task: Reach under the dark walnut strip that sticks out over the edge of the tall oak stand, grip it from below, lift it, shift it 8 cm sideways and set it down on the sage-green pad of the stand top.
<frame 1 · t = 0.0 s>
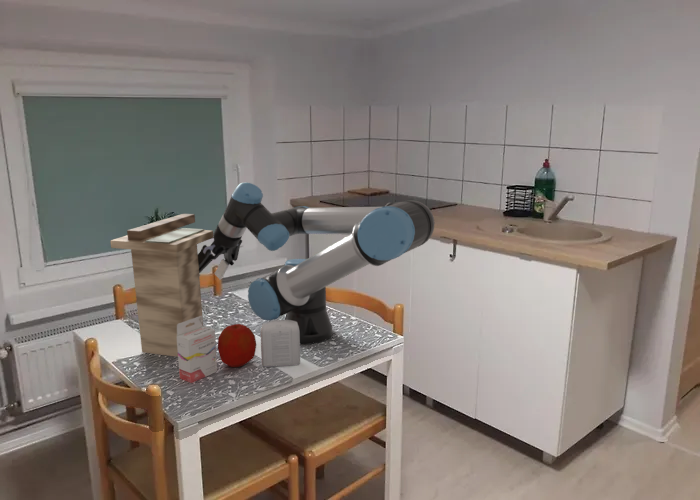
hand: (203, 281, 171), 15 cm above the table, tool tilted 35°, fingers open, 11 cm apart
ink cartridge box: (199, 375, 144), on the table
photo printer: (281, 364, 150), on the table
oak stand: (173, 347, 161), on the table
walnut strip: (164, 230, 160), point 33 cm above the table, touching oak stand
apple: (237, 364, 150), on the table
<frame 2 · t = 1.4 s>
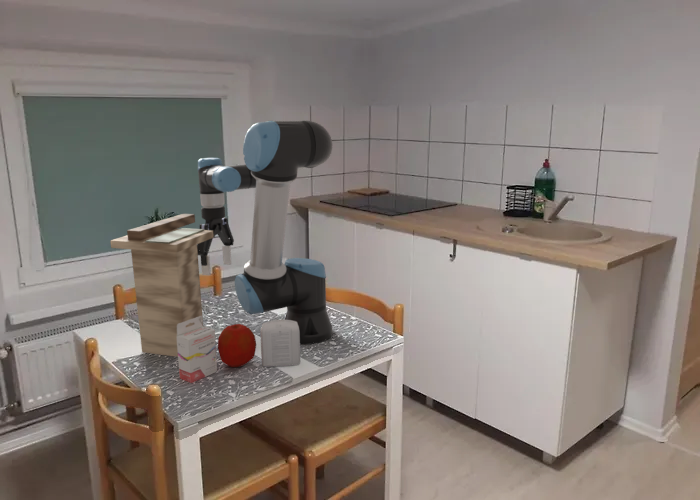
hand: (217, 269, 187), 15 cm above the table, tool pointing down, fingers open, 13 cm apart
nothing on the table moved.
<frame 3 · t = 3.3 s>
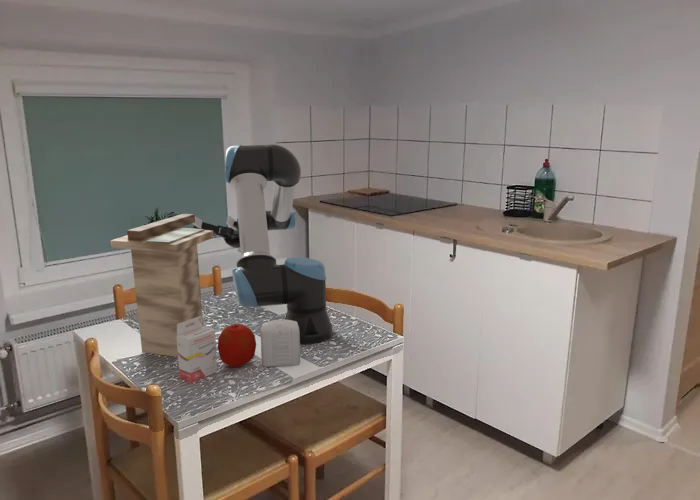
hand: (209, 218, 183), 32 cm above the table, tool pointing upward, fingers open, 13 cm apart
nothing on the table moved.
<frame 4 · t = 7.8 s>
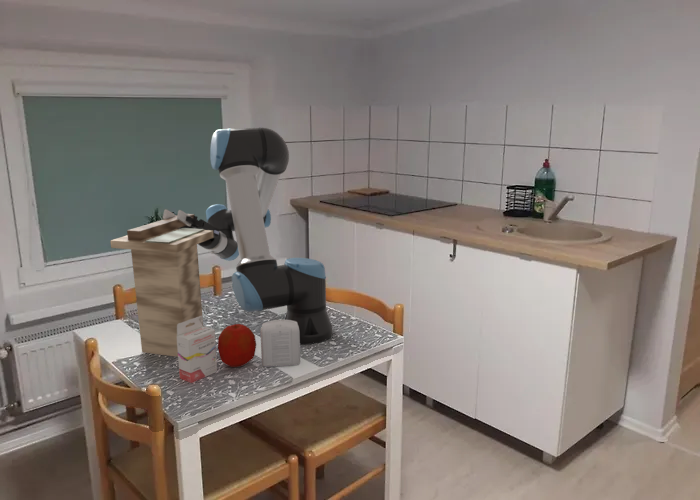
hand: (171, 214, 163), 37 cm above the table, tool pointing upward, fingers closed on walnut strip, 4 cm apart
walnut strip: (164, 230, 160), point 33 cm above the table, touching gripper, oak stand
everything else where it was.
when the fingers open (39 cm above the table, at t = 11.7 s): walnut strip drops 1 cm, resting on oak stand.
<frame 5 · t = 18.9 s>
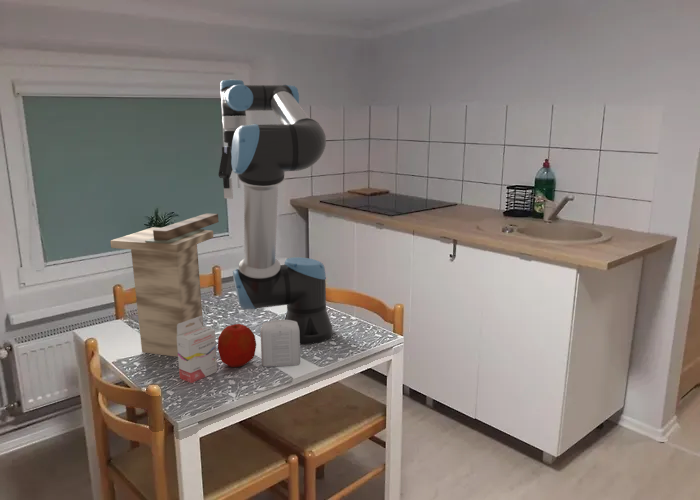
hand: (238, 195, 186), 39 cm above the table, tool pointing down, fingers open, 13 cm apart
walnut strip: (188, 230, 158), point 33 cm above the table, touching oak stand
everything else where it was.
at the end: walnut strip inside the target area (0.1 cm from its centre), point 33.4 cm above the table; the gripper is holding nothing; walnut strip tilted 0° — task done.
